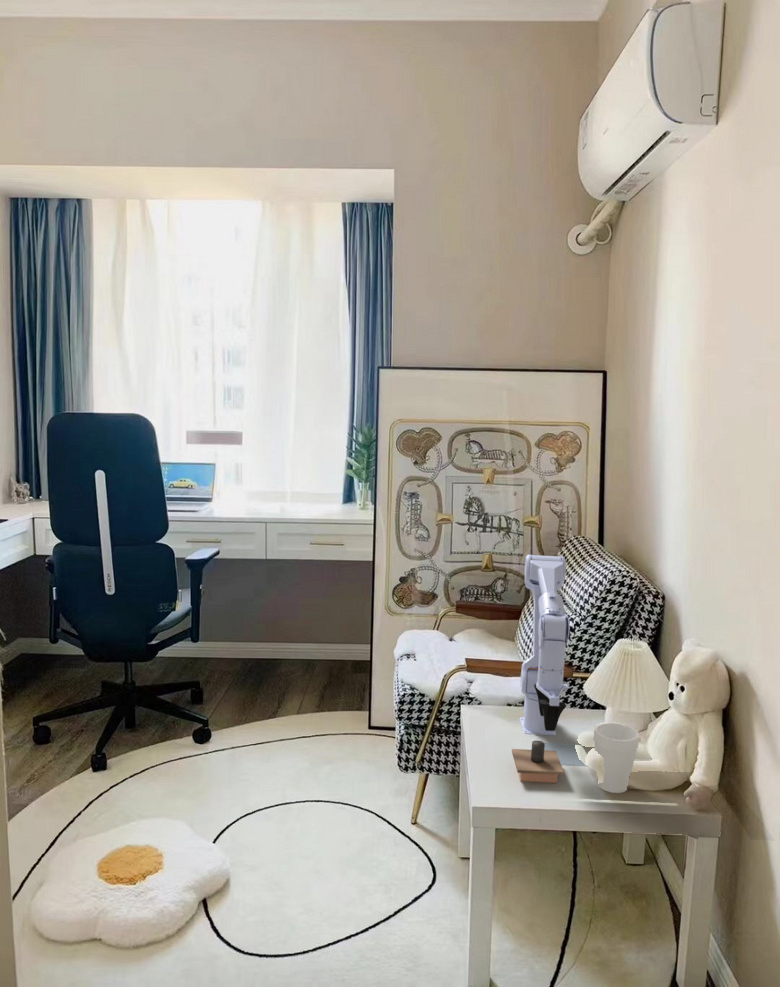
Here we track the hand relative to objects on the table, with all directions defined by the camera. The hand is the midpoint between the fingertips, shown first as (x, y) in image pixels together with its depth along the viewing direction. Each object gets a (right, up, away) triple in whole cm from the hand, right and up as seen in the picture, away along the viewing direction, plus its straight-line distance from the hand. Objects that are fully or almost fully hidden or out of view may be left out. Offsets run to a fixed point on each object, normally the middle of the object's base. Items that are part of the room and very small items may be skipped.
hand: (547, 722), depth 189 cm
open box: (-4, -10, -6) cm, 12 cm away
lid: (-3, -7, -6) cm, 10 cm away
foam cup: (+12, -12, -10) cm, 19 cm away
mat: (+5, -9, +4) cm, 11 cm away
